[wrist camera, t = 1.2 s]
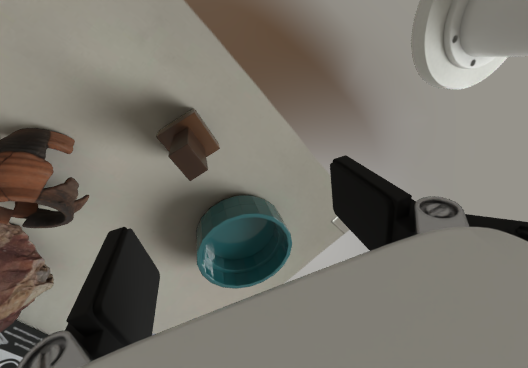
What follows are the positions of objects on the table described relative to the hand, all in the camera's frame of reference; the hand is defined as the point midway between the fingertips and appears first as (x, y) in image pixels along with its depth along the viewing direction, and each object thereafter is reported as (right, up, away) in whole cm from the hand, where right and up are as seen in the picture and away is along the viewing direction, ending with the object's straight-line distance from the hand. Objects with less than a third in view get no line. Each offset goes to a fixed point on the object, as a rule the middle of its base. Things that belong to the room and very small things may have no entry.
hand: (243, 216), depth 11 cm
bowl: (-3, -6, +27) cm, 28 cm away
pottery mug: (-25, +4, +16) cm, 30 cm away
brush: (-8, +8, +19) cm, 22 cm away
